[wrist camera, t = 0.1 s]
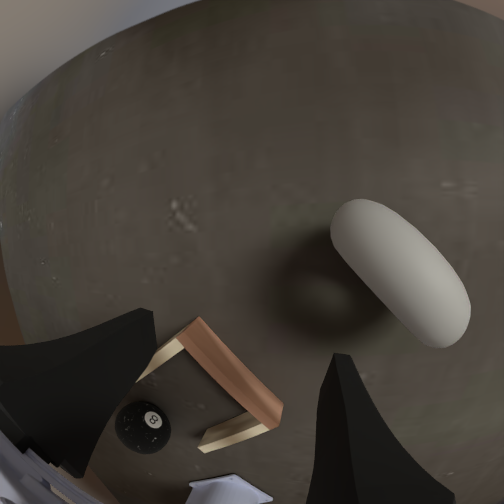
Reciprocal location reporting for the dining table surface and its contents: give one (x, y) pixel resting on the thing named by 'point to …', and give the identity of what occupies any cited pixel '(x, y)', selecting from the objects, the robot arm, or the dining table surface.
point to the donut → (402, 271)
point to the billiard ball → (142, 427)
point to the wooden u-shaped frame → (224, 385)
